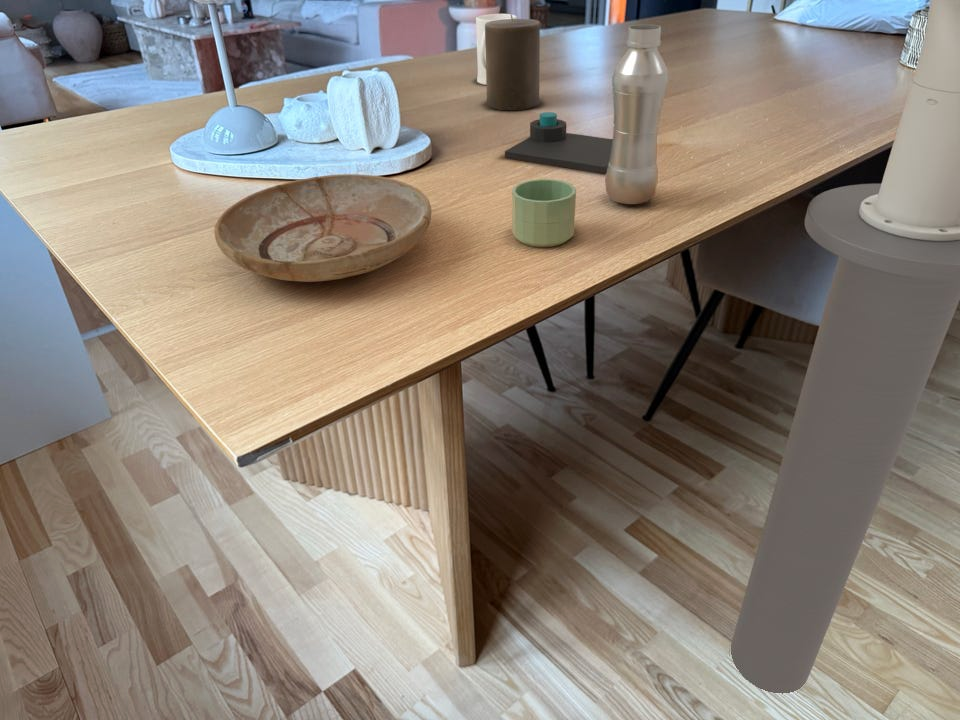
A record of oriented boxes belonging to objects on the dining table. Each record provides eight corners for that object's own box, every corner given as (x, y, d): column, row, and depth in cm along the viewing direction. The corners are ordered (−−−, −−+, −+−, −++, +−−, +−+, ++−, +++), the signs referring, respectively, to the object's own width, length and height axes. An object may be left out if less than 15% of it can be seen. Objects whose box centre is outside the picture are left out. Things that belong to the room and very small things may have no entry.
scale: (637, 149, 105) (639, 129, 103) (604, 174, 96) (606, 152, 95) (541, 135, 112) (541, 116, 110) (503, 157, 104) (503, 137, 102)
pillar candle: (516, 114, 123) (515, 20, 114) (475, 105, 129) (472, 16, 120) (550, 102, 129) (552, 12, 120) (510, 94, 134) (509, 8, 126)
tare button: (559, 124, 108) (559, 113, 107) (551, 129, 106) (552, 117, 105) (544, 122, 109) (544, 111, 108) (536, 127, 107) (536, 115, 106)
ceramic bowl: (177, 275, 75) (164, 232, 73) (322, 200, 92) (316, 163, 89) (343, 326, 65) (335, 278, 62) (473, 232, 82) (471, 191, 79)
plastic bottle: (603, 210, 86) (615, 33, 75) (603, 190, 91) (614, 22, 80) (657, 211, 85) (677, 32, 74) (653, 190, 90) (672, 21, 79)
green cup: (584, 230, 81) (586, 184, 78) (556, 253, 76) (558, 206, 73) (531, 219, 84) (531, 175, 81) (501, 241, 79) (500, 195, 76)
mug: (499, 91, 137) (497, 24, 130) (461, 87, 141) (458, 22, 134) (525, 77, 146) (525, 14, 139) (489, 74, 149) (487, 12, 142)
